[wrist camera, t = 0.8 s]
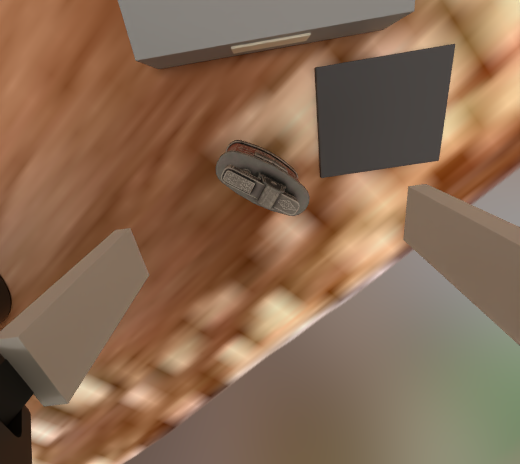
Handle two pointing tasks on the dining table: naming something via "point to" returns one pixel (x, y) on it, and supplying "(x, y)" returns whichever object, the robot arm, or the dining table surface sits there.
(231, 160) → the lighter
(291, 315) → the dining table surface
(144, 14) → the button panel
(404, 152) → the mat
